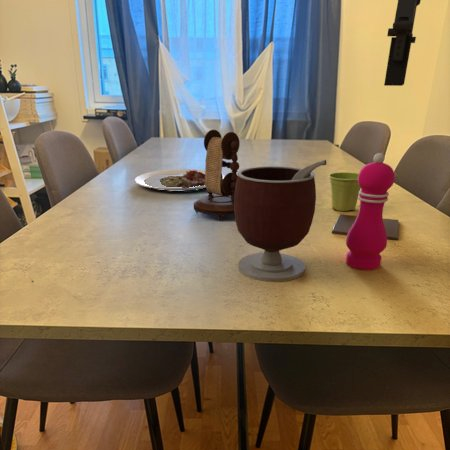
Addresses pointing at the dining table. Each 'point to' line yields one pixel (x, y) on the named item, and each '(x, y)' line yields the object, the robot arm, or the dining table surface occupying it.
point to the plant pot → (344, 190)
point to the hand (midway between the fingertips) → (394, 85)
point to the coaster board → (347, 221)
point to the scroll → (219, 174)
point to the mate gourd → (274, 218)
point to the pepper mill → (370, 216)
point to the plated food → (177, 179)
